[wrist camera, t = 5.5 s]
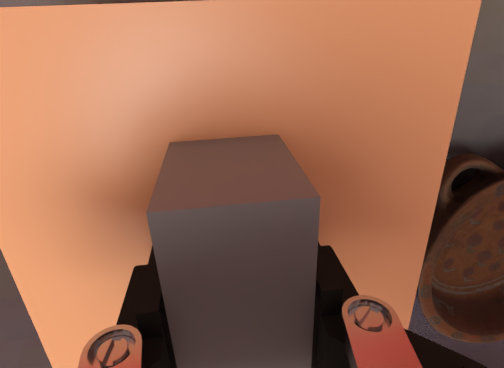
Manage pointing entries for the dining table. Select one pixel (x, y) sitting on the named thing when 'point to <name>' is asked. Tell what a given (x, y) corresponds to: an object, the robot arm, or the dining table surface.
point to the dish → (466, 254)
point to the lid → (222, 162)
